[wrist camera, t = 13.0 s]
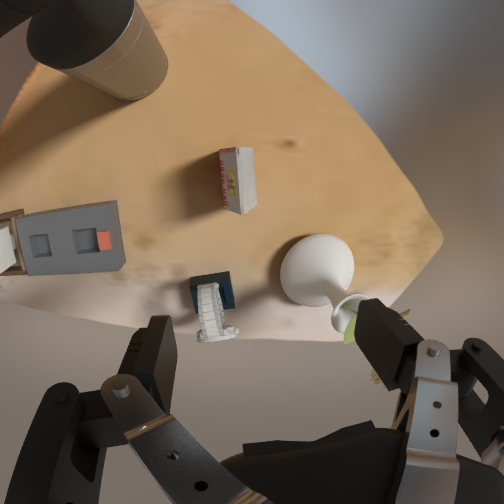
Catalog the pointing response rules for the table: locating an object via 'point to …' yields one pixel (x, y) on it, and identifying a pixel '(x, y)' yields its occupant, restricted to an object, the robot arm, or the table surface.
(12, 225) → the tray
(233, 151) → the tea box
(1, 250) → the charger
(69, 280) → the table surface
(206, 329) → the watch
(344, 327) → the flower in vase
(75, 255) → the power strip
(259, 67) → the table surface
